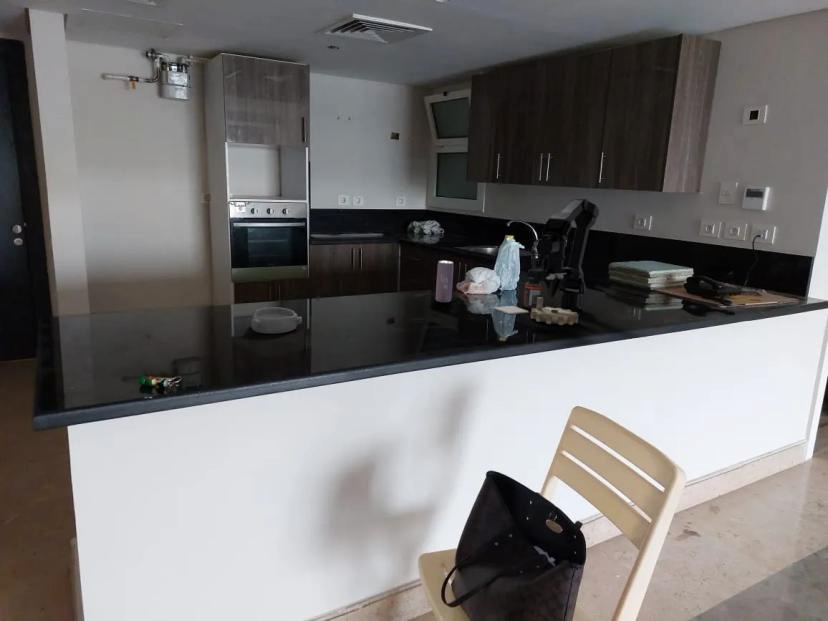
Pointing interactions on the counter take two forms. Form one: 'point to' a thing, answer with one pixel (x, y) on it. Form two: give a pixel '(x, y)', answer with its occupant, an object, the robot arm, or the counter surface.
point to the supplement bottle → (532, 293)
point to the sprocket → (553, 314)
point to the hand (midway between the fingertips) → (550, 297)
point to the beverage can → (444, 281)
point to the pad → (511, 310)
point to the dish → (274, 320)
